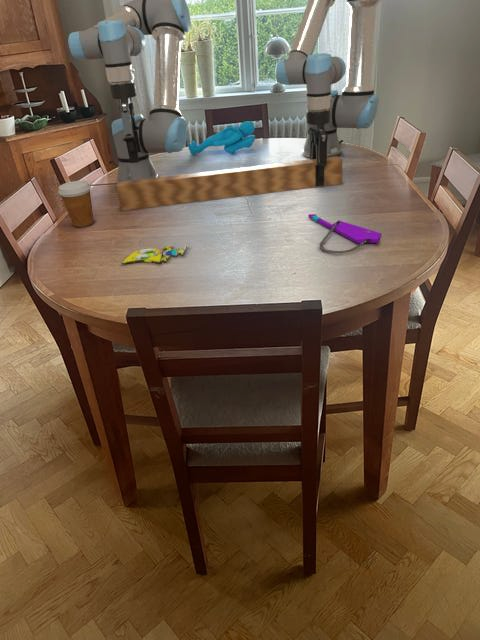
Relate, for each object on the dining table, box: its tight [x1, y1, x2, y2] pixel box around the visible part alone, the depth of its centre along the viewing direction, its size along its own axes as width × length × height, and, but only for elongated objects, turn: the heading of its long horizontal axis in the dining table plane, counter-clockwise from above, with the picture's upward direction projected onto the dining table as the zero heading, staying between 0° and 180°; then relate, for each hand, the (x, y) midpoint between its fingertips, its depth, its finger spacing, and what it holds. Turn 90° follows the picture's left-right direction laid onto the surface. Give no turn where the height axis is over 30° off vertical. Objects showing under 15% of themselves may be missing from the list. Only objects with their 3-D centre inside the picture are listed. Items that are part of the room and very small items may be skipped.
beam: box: [115, 155, 344, 212], centre depth 160 cm, size 74×4×8 cm, turn 98°
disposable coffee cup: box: [58, 180, 95, 228], centre depth 147 cm, size 10×10×12 cm
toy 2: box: [187, 120, 256, 156], centre depth 208 cm, size 17×11×30 cm
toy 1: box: [121, 245, 188, 265], centre depth 125 cm, size 10×1×15 cm
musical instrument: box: [308, 213, 382, 254], centre depth 126 cm, size 24×2×20 cm
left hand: (135, 157), depth 151 cm, fingers open, 13 cm apart
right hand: (317, 183), depth 164 cm, fingers closed on beam, 4 cm apart
